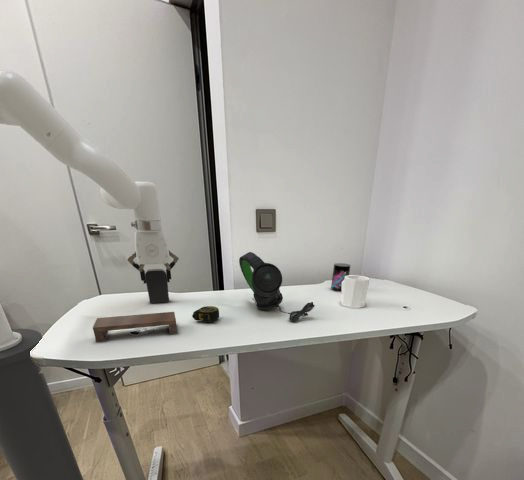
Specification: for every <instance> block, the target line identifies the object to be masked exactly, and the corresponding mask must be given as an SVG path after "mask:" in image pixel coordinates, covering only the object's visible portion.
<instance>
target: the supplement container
mask: <svg viewBox="0 0 524 480" xmlns="http://www.w3.org/2000/svg"><path fill="white" fill-rule="evenodd" d="M351 267H352V266H351V264H348V263H342V262H341V263H340V262H337V263H336V262H335V263H333V271H332V277H331V284H330V289H331V290H332V291H335V292H342V281H343V280H344V278H345V276H348V275H350V271H351Z"/></svg>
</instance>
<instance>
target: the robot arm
mask: <svg viewBox="0 0 524 480" xmlns="http://www.w3.org/2000/svg"><path fill="white" fill-rule="evenodd" d="M0 124H1V125H7V126H13V127H14V126H17V127H20V128H21V129H22V130H23V131H25V132H26V133H27V134H28V135H29V136H30V137H31V138H33V140H35V142H37V143H38V144H39V145H40V146H41V147H43V148H44V149H45V150H46V151H47V152H48V153H49V154H50V155H52V156H53V158H55V159H56V160H57V161H58V162H60V163H62V164H63V165H65V166H67V167H69V168H71V169H73V170H76V171H78V172H79V173H81V174H83V175H85V176H86V177H87V178H89V179H91V180H92V181H93V182H94V183H96V184H97V185H98V186H99V187H100V188H99V193H100V194H99V195H100V197H101V199H102V201H103V202H104V203H105V204H106V205H107V206H109V207H110V208H113V209H119V210H133V215H134V220H135V221H132V222H130V225H131V226H130V227H131V228H134V229H136V230H134V237H133V239H134V249H135V251H134V252H133V253H132V254H131V255H130V256H129V257H127V262H128V263H129V264H130V265H131V266H133V268H135V270H137V271H138V272H139V276H140V280H141V282H143V284H144V285H146V279H145V273H146V270H145V269H144V268H145V265H164V267H165V268H166V269H165V272H166V275H167V281H168V283H170V282H171V281H170V280H172V273H171V271H172V269H173V268H174V267H175V265H176V264H177V263H178V261H179V259H180V258H179V257H178V256H177V255H176V254H175V253H173V252H172V251H170V250H169V245H168V239H167V236H166V232H165V231H164V230H163V228H162V221H161V212H160V204H159V195H158V189H157V185H156V184H155V183H154V182H151V181H137V180H136V181H135V180H134V179H133V178H132V177H131V176H130V175H129V174H128V173H127V172H126V171H125V170H124V169H123V167H121V166H120V165H119V163H117V162H116V161H115V160H114V159H113V158H111V156H109V155H108V154H107V153H106V152H104V151H103V150H102V149H100V148H99V147H97V146H96V145H95V144H94V143H93V142H91V141H90V140H89V139H87V138H86V137H84V135H82V134H81V133H80V132H79V131H78V130H77V129H76V128H75V127H73V125H72V124H71V123H70V122H68V120H67V119H66V118H65V117H64V116H63V115H62V114H61V113H60V112H59V111H58V110H57V109H56V108H55V107H54V106H53V105H52V104H51V103H50V102H49V101H48V100H47V99H46V98H45V97H44V96H43V95H42V94H41V93H40V92H39V91H38V90H37V89H36V88H35V87H34V86H33V85H32V84H31V83H30V82H29V81H28V80H27V79H25V78H24V77H23V76H21V75H20V74H19V73H17V72H15V71H12V70H8V69H3V70H0ZM170 257H171V258H172V261H170V260H171V259H170ZM134 259H136V260H137V262H136V261H135V260H134ZM11 329H12V328H11V325H10V323H9V320H8V318H7V315H6V312H5V311H4V309H3V306H2V303H1V302H0V352H1V351H4V350H7V349H10V348H12V347H14V346H16V345H18V344H19V343H20V342H21V341H22V336H21V334H19V333H17V332H12V330H11Z"/></svg>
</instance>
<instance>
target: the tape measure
mask: <svg viewBox="0 0 524 480" xmlns="http://www.w3.org/2000/svg"><path fill="white" fill-rule="evenodd" d="M191 317H192V318H193V320H194V321H197V322H198V321H199V322H203V323H212V322H216V321H218V320H219V318H220V309H219V308H218V307H217V306H213V305H209V306H202V307H199V308H198V309H197V310H194V311H193V313H192V314H191Z"/></svg>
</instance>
